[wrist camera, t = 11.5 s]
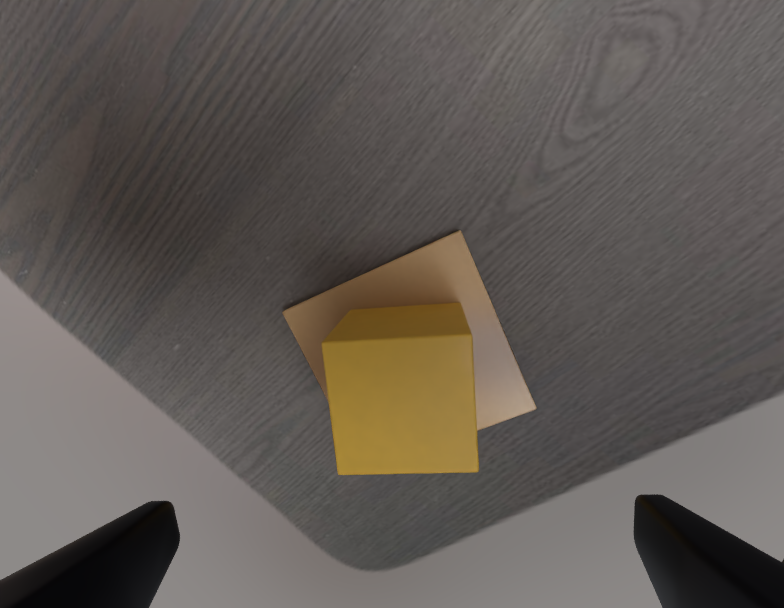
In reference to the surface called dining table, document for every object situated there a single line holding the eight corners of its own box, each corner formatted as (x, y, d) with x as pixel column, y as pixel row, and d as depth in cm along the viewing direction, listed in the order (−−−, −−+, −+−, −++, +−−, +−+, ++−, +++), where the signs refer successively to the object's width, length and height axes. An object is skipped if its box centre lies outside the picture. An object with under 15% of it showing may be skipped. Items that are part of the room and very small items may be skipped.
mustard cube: (466, 407, 17) (479, 473, 12) (361, 411, 17) (337, 476, 13) (460, 301, 16) (472, 333, 12) (349, 309, 16) (320, 342, 12)
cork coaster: (535, 405, 17) (537, 409, 17) (365, 466, 18) (364, 472, 18) (459, 229, 16) (460, 229, 15) (284, 309, 17) (281, 311, 17)
